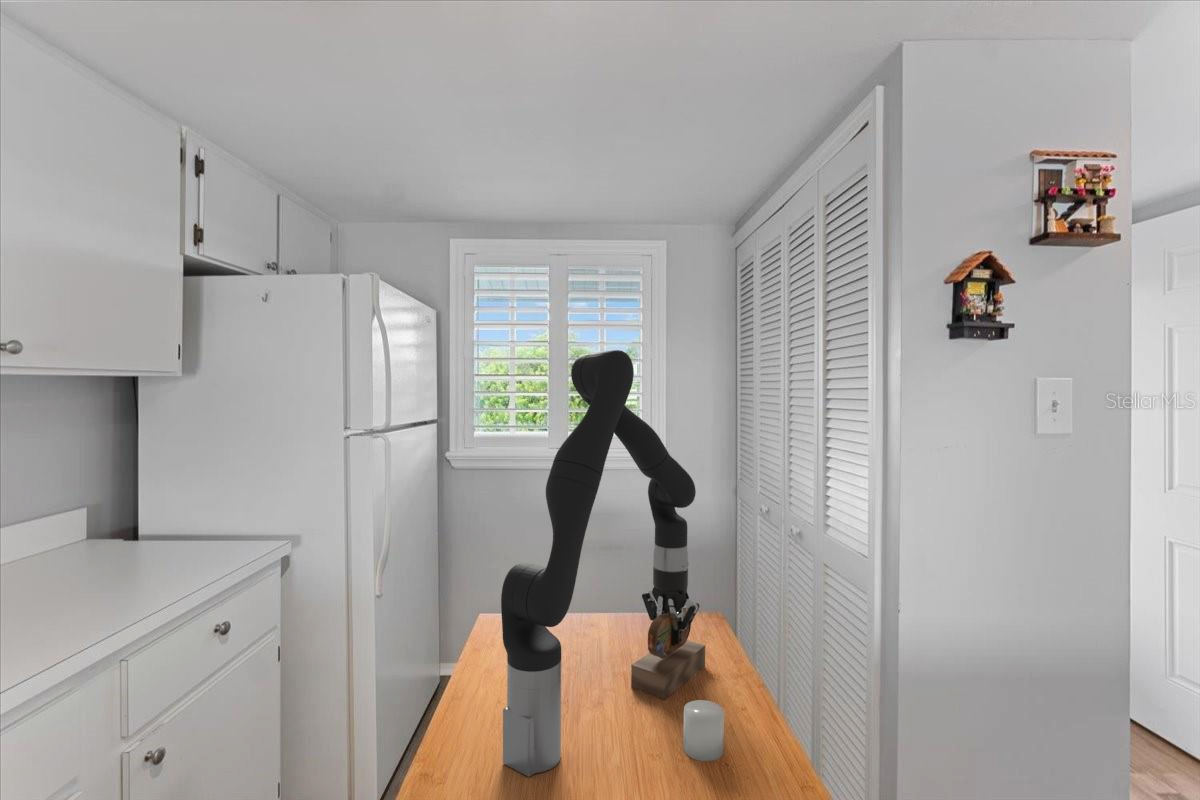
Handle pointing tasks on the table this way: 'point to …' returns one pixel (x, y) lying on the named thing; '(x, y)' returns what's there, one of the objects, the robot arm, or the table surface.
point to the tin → (664, 635)
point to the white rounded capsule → (703, 730)
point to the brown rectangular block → (667, 670)
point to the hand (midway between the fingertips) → (669, 642)
